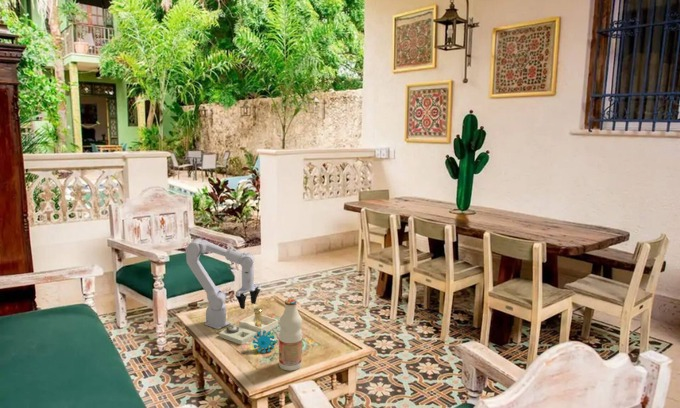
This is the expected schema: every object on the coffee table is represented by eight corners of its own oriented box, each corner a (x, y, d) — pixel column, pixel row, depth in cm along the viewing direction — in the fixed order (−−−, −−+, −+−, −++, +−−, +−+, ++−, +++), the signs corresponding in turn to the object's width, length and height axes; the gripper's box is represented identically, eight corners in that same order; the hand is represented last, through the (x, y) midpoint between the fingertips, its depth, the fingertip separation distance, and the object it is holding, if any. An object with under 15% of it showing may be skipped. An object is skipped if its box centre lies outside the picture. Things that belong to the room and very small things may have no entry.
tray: (239, 328, 225) (239, 321, 225) (256, 319, 236) (256, 313, 235) (261, 335, 218) (261, 328, 218) (278, 326, 228) (278, 319, 228)
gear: (252, 352, 199) (253, 329, 205) (250, 356, 204) (251, 334, 209) (278, 352, 202) (278, 330, 208) (275, 357, 207) (275, 335, 212)
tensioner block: (219, 336, 216) (219, 328, 215) (234, 329, 224) (234, 321, 224) (241, 344, 209) (241, 336, 208) (256, 336, 217) (256, 328, 216)
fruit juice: (291, 373, 186) (292, 307, 181) (274, 366, 191) (274, 301, 186) (306, 364, 193) (307, 300, 188) (289, 357, 198) (290, 294, 194)
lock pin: (252, 327, 226) (252, 310, 224) (257, 324, 229) (257, 307, 228) (258, 329, 224) (258, 311, 222) (264, 326, 227) (264, 309, 225)
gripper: (243, 284, 217) (243, 312, 219) (264, 276, 229) (264, 303, 232) (232, 282, 221) (232, 309, 223) (253, 274, 233) (253, 300, 235)
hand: (247, 305), depth 228 cm, fingers open, 7 cm apart
